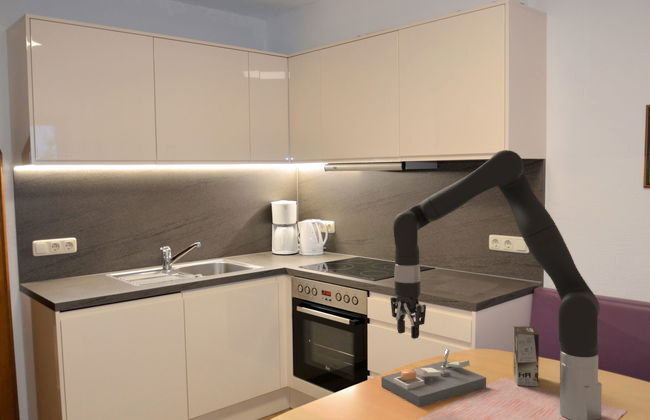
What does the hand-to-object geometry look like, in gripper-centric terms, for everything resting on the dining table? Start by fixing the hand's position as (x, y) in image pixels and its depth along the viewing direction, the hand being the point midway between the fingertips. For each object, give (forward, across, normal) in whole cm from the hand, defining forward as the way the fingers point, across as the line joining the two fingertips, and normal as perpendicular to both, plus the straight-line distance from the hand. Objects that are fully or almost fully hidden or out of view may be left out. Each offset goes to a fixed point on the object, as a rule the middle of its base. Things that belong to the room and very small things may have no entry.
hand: (408, 335), depth 164 cm
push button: (+13, 0, 0) cm, 13 cm away
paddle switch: (+13, 0, -20) cm, 24 cm away
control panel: (+18, 0, -10) cm, 20 cm away
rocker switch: (+13, 0, -7) cm, 15 cm away
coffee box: (+18, -12, -36) cm, 42 cm away
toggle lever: (+13, 0, -14) cm, 18 cm away
